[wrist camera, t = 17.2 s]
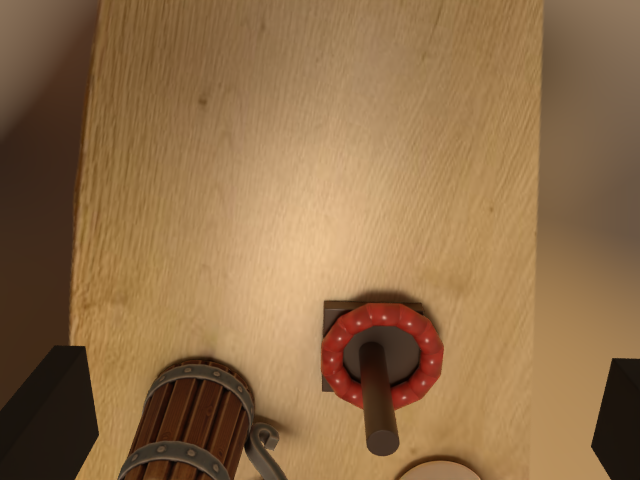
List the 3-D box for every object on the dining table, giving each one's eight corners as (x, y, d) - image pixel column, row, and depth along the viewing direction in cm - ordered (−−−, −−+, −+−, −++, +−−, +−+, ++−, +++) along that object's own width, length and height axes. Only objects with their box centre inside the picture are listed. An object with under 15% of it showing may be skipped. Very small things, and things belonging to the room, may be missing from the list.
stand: (322, 382, 56) (320, 489, 43) (324, 300, 52) (322, 390, 40) (414, 384, 56) (439, 492, 43) (421, 303, 52) (451, 393, 40)
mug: (136, 422, 58) (76, 552, 44) (169, 340, 54) (113, 453, 40) (279, 471, 60) (264, 610, 46) (319, 396, 56) (316, 521, 42)
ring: (320, 400, 55) (320, 413, 53) (322, 297, 51) (322, 308, 49) (434, 402, 55) (438, 416, 53) (446, 300, 50) (450, 311, 49)
